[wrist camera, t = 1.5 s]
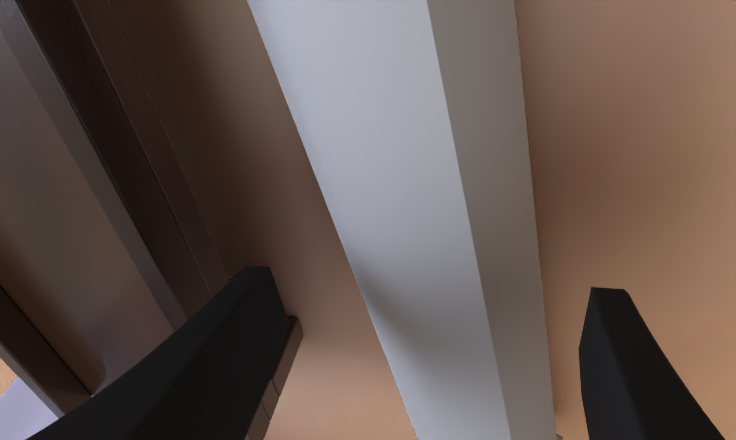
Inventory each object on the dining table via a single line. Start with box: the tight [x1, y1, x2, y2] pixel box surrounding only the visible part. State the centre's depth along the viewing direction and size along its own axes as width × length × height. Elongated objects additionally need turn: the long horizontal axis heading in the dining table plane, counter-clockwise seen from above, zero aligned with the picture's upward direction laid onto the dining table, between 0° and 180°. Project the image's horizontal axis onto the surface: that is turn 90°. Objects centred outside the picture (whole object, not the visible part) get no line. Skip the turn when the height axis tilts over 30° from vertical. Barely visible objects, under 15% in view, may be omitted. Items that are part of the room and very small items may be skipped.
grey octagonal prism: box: [247, 0, 563, 440], centre depth 13 cm, size 5×5×25 cm
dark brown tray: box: [0, 0, 303, 440], centre depth 13 cm, size 9×24×5 cm, turn 8°
